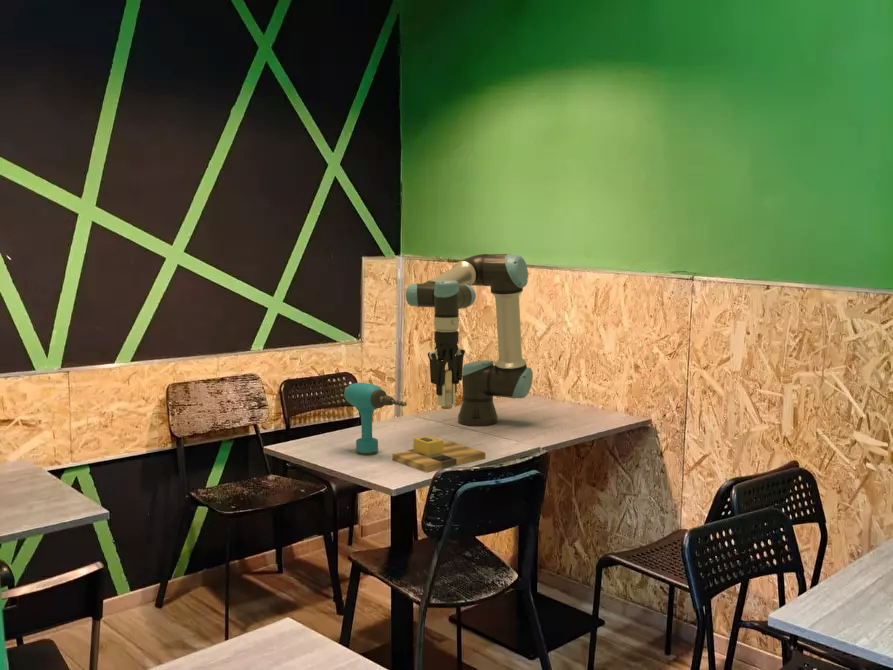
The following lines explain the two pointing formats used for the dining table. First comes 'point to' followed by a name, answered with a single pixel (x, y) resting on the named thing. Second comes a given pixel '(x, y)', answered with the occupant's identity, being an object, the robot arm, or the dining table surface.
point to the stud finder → (428, 445)
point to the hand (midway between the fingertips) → (446, 404)
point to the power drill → (368, 411)
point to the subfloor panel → (439, 457)
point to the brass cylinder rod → (448, 389)
